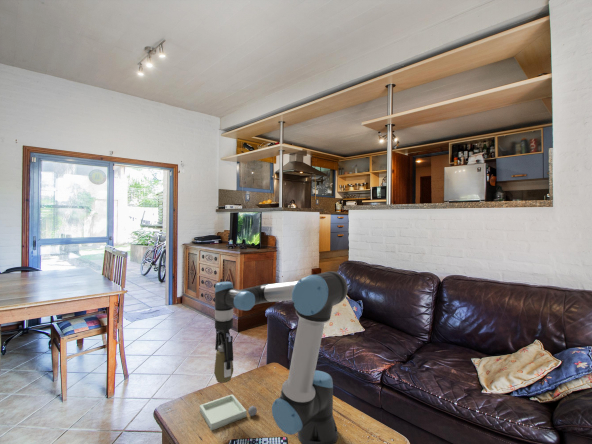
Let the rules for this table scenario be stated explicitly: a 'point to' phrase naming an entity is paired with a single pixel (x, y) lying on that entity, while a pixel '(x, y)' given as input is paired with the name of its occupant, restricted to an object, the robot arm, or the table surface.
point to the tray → (222, 411)
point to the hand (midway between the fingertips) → (223, 372)
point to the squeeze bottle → (221, 366)
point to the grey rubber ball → (252, 411)
